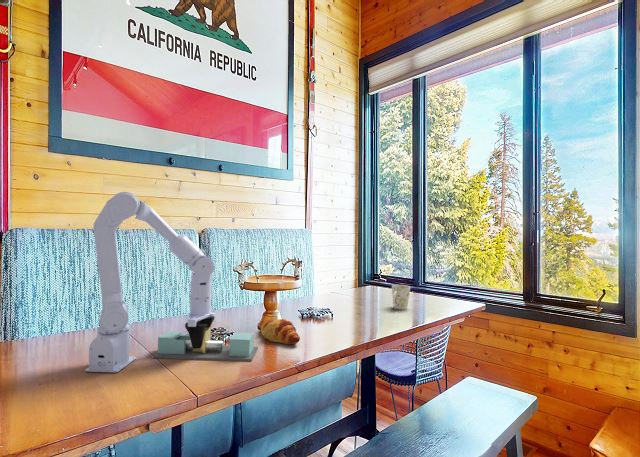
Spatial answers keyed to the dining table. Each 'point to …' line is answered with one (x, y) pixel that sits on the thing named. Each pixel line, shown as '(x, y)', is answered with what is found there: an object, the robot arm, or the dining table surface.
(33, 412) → the dining table surface
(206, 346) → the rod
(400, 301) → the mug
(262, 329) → the croissant
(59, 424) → the dining table surface
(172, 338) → the guide
